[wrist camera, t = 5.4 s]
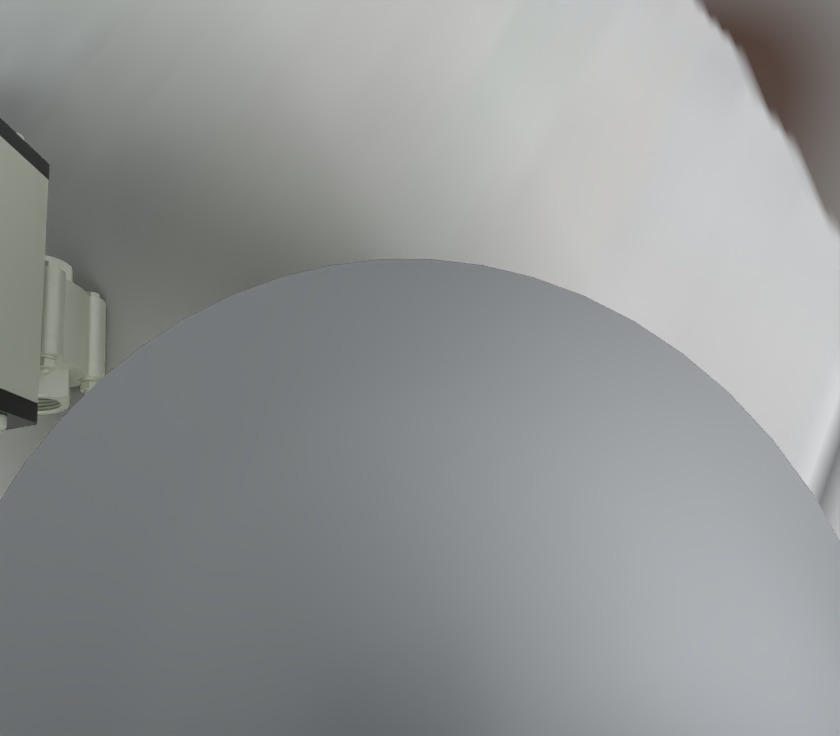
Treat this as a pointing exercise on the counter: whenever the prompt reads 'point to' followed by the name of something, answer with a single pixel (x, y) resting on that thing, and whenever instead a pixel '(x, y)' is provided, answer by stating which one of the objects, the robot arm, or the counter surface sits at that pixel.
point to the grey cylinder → (414, 529)
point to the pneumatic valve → (39, 300)
